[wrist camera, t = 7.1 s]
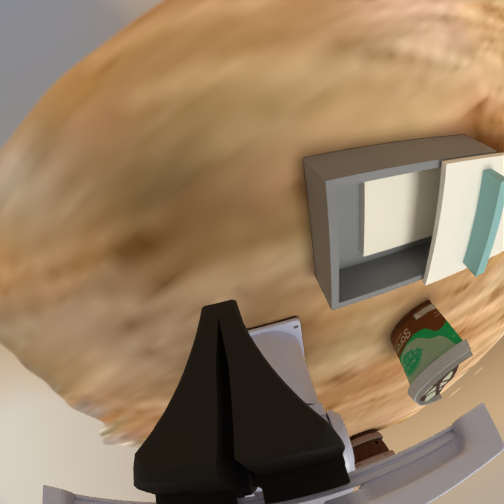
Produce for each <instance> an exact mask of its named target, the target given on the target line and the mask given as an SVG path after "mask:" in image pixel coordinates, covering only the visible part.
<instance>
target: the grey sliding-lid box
mask: <svg viewBox="0 0 504 504" xmlns="http://www.w3.org/2000/svg"><path fill="white" fill-rule="evenodd" d="M494 153H498V151H496V150H494V149H492V148H491V147H489V146H487V145H485V144H483V143H481V142H479V141H477V140H475V139H473V138H471V137H469V136H467V135H453V136H442V137H432V138H423V139H415V140H407V141H399V142H392V143H385V144H378V145H372V146H365V147H359V148H353V149H348V150H342V151H336V152H331V153H326V154H320V155H315V156H310V157H305V158H303V165H304V172H305V180H306V188H307V196H308V205H309V214H310V223H311V233H312V243H313V254H314V266H315V277H316V279H317V281H318V283H319V285H320V287H321V289H322V291H323V293H324V295H325V297H326V299H327V301H328V303H329V306H330V308H331V310H334V309H337V308H340V307H344V306H347V305H350V304H353V303H356V302H359V301H362V300H365V299H368V298H371V297H374V296H377V295H380V294H383V293H386V292H388V291H391V290H394V289H397V288H400V287H402V286H405V285H408V284H410V283H413V282H416V281H418V280H421V279H423V278H424V274H425V269H426V265H427V260H428V256H429V251H430V246H431V241H432V235H433V230H434V224H435V217H436V211H437V203H438V196H439V187H440V178H441V166H442V161H446V160H452V159H459V158H465V157H472V156H479V155H487V154H494Z"/></svg>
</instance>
